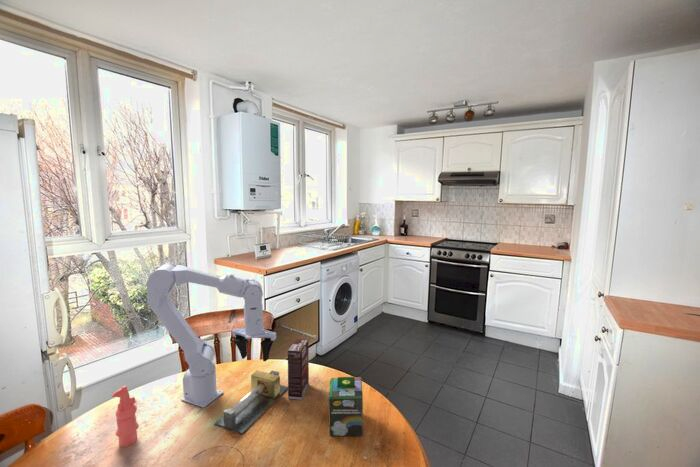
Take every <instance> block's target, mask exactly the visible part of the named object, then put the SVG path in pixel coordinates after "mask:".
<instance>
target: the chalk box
mask: <svg viewBox="0 0 700 467" xmlns="http://www.w3.org/2000/svg"><path fill="white" fill-rule="evenodd" d="M362 379H363V377H361V376H338V377H332V378H330V381H329V391H328V418H329V419H328V424H329V436H330V437H334V436H335V437H341V436H342V437H343V436H344V437H363V435H364V423H363V422H364V421H363V420H364V412H363V410H364V408H363V407H364V405H363V403H364V401H363V400H364V395H363V380H362Z"/></svg>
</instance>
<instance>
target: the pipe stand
mask: <svg viewBox="0 0 700 467" xmlns="http://www.w3.org/2000/svg"><path fill="white" fill-rule="evenodd" d="M269 374H273V375H277V376H280V372H279V371H276V370H271V371H270V372H269ZM267 389H268V382H264V381H261V382H260V383H259V384H258V385H257V386H256V387H255V388H254V389H253V390H252V389H251V390H250V391H249V392H248V393H247V394H246V395H244V396H243V397H242V398H241V399H239V400H238V402H236V403H234V405H233V406H231V407H230V408H225V410H223V415H222V416H221V417H220V418H219V419H217V420H216V422H214V425H215V426H217V427H220V428H223V429H225V430H228V431H231V432H233V433H237V434H240V435H244V434H245V433H246V431H247V430H248V429H249V428H250V427H252V425H253V424H254V423H256V421H257V420H259V419H260V417H262V415H264V414H265V412H266V411H267V410H268V409H269V408H270V407H271V406H272V405H273V404H274V403H275V402H276V401H277V400H278V399H279V398H280V397H281V396H282V395H283V394H284V393H285V392H286V391H288V386H286V385H282V384H280V393H279V394H278V395H277V396H276V397H275V398H272V397H269V396H266V395H262V393H263V392H264V391H266V390H267Z"/></svg>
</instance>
